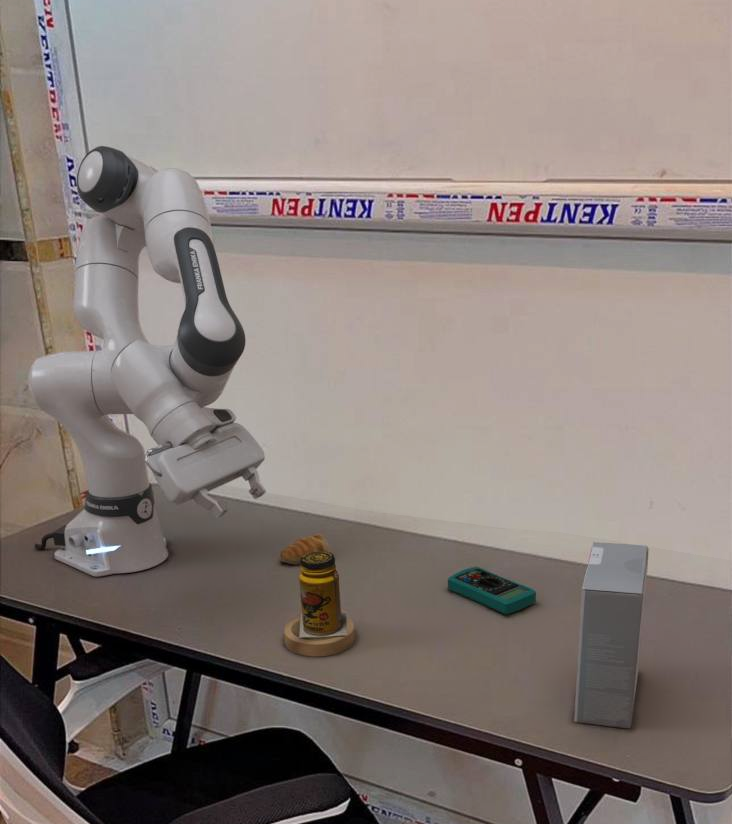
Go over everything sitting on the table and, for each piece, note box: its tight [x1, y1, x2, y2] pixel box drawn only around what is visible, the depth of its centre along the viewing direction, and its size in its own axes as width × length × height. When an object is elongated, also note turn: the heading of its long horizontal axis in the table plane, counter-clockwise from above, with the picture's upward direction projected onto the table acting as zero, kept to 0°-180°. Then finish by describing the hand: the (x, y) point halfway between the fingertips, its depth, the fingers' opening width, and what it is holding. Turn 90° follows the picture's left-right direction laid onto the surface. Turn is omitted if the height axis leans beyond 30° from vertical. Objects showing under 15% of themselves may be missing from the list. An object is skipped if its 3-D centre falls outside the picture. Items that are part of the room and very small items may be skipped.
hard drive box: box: [573, 541, 650, 729], centre depth 130 cm, size 16×8×20 cm, turn 163°
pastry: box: [279, 533, 332, 566], centre depth 181 cm, size 9×7×4 cm
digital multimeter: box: [447, 566, 537, 616], centre depth 164 cm, size 7×15×3 cm, turn 39°
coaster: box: [283, 615, 356, 658], centre depth 152 cm, size 11×11×2 cm
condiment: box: [298, 551, 347, 638], centre depth 149 cm, size 7×8×12 cm
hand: (242, 504), depth 149 cm, fingers open, 8 cm apart
